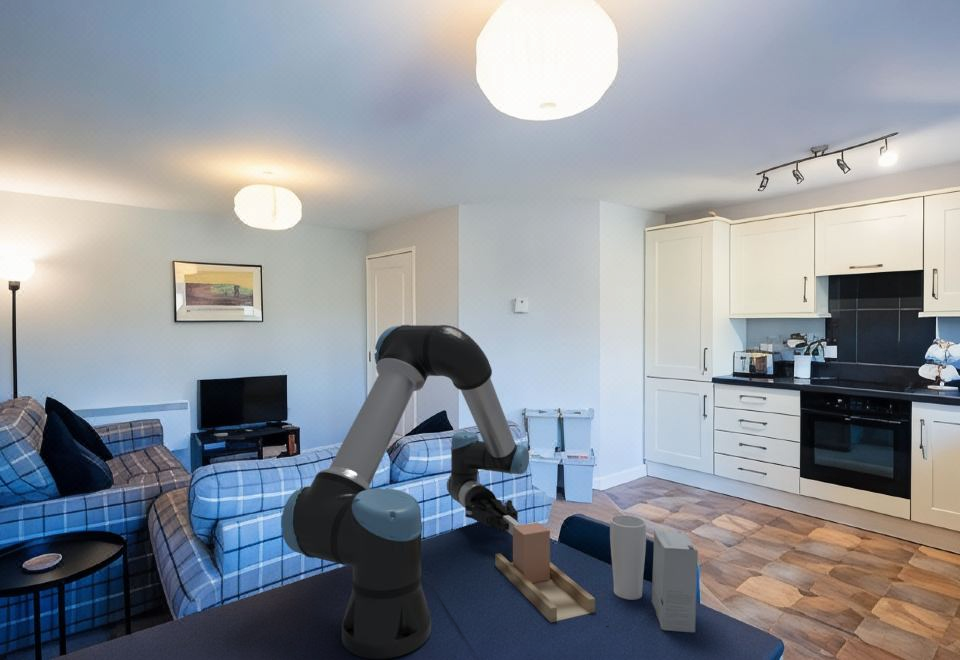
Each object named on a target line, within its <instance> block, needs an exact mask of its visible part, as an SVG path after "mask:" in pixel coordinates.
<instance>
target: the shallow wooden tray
mask: <svg viewBox="0 0 960 660" xmlns="http://www.w3.org/2000/svg"><path fill="white" fill-rule="evenodd" d="M494 557H495V558H494V559H495V567H496V568H497V569H498V570H499V571H500V572H501V573H502V574H503V575H504V577H506V578H507V579H508V580H509V582H511V583H512V584H513V586H515V588H517V590H518V591H519V592H521V593H522V594H523V596H524V597H525V598H526V599H528V601H529V602H530V603H531V604H532V605H534V607H535V608H536V609H537V610H538V611H539V612H540V613H541V614H542V615H543V616H544V617H545V618H546V619H547V620H548V621H549V622H550V623H555V622H560V621H563V620H568V619H571V618H572V619H573V618H576V617H579V616H580V617H581V616H585V615H588V614H593V613H595V612H596V598H595V597H594V596H593V595H592V594H591V593H589V592H588V591H587V590H585V589H584V588H583V587H582V586H581V585H579V584H578V583H576V582H575V581H574V580H573V579H571V578H570V577H569V576H568V575H567V574H566V573H564V572H563V570H561V569H559V568H558V567H557V566H556V565H555V564H553V563H552V562H551V561H550V580H545V581H540V582H535V583H531V582H530V581H529V580H528V579H527V578H526V577H525V576H524V575H523V574H521V573H520V572H519V571H518V570H517V569H516V568H515V567H514V566H513V561H512V562H510V560H508V559H507V558H506V557H505V556H504V555H502V553H495V556H494Z"/></svg>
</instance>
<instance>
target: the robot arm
mask: <svg viewBox="0 0 960 660" xmlns="http://www.w3.org/2000/svg"><path fill="white" fill-rule="evenodd" d="M375 351H376V352H375V353H374V360H375V364H376V366H375V367H376V372H377V374H378V376H377V378H376V379H375V382H374V383H373V385H372V386H371V388H370V391H369V393H368V394H367V397H366V398H365V400H364V402H363V404H362V405H361V407H360V409H359V411H358V413H357V415H356V417H355V419H354V421H353V423H352V425H351V426H350V428H349V430H348V432H347V433H346V436H345V438H344V439H343V441H342V443H341V445H340V447H339V449H338V451H337V452H336V455H335V456H334V459H332V460H333V461H332V462H331V464H330V465H329V468H325V469H323V470H320V471H318V472H317V474H316V475H315V477H314V478H313V481H312V482H311V484H310V486H309V485H306V486H303V487H300V488H299V489H296V490H295V491H294V492H293V493H292V494H291V495H290V496H289V497H288V499H287V501H286V503H285V505H284V507H283V510H282V514H281V525H280V526H281V529H282V533H281V534H282V538H283V540H284V543H285V544H286V545H287V547H288V548H289V549H290V550H291V551H293V552H295V553H297V554H301V555H303V556H305V557H307V558H311V559H319V560H323V561H328V562H331V563H336V564H339V565H343V566H347V567H351V568H352V589H351V594H350V598H349V601H348V603H347V606H346V610H345V613H344V616H343V619H342V623H341V642H342V645H343V647H344V648H345V649H346V650H347V651H349V653H351V654H353V655H355V656H357V657H359V658H365V659H371V660H386V659H394V658H397V657H402V656H404V655H407V654H410V653H412V652H414V651H416V650H417V649H419V648H421V647H422V646H423V645H424V644H425V643H426V642H427V641H428V639H429V637H430V635H431V632H432V617H431V615H432V614H431V611H430V609H429V608H430V607H429V605H428V601H427V599H426V596H425V593H424V589H423V586H422V531H423V521H422V513H421V511H422V510H421V506H420V504H419V502H418V500H417V499H416V498H415V497H414V496H412V495H411V494H410V493H407V492H404V491H402V490H398V489H394V488H388V487H387V488H380V487H375V488H371V487H370V485H371V483H372V481H373V479H374V477H375V475H376V474H377V470H378V468H379V466H380V464H381V462H382V459H383V457H384V456H385V453H386V451H387V449H388V447H389V446H390V445H389V444H390V442H391V440H392V438H393V436H394V434H395V432H396V429H397V428H398V425H399V423H400V421H401V419H402V417H403V415H404V413H405V410H406V408H407V406H408V404H409V401H410V400H411V397H412V395H413V393H414V392H417V391H420V390H421V389H423V388H424V385H425V384H426V381H427V379H428V377H431V376H432V377H445V378H449V380H451V382H452V383H453V386H454V387H455V388H456V389H457V390H460V391H461V394H462V396H463V398H464V400H465V402H466V404H467V407H468V410H469V412H470V415H471V416H472V419H473V421H474V422H475V426H476V427H477V430H478V432H479V434H480V436H481V438H482V441H480V438H479V434H478V433H477V432H472V431H458V432H455V433H454V434H453V435H452V436H451V446H450V447H451V448H450V451H451V452H450V454H451V456H450V457H451V460H450V462H451V463H450V465H451V468H450V469H451V470H450V471H451V472H450V475H449V476H448V479H447V481H446V490H447V492H448V494H449V495H450V496H451V499H452V500H454V501H456V502H457V503H459V505H461V506H462V507H463V508H465V509H464V511H465V518H469V519H472V520H474V521H476V522H477V523H480V524H482V525H485V526H486V527H488V528H494V526H496V530H497V531H503V530H504V531H506V532H507V533H508V534H510V536H512V537H513V526H517V525H522V524H521V522H519V520H518V519H519V517H518V514H519V512H518V511H517V510H516V508H515V507H514V505H513V500H511V499H508V500H507V501H504V502H503V501H502V500H501V499H498V498H497V497H496V495H495V494H494V492H493V491H492V490H490V489H489V488H487V487H486V486H485V485H483V484H482V483H480V482H479V480H478V479H479V477H478V476H479V470H482V471H489V472H490V471H491V472H496V473H497V472H498V473H504V474H509V475H512V474H513V475H523V474H525V473H526V471H527V470H528V467H529V463H530V453H529V452H530V451H529V449H528V448H527V447H526V446H524V445H521V444H516V441H515V440H514V436H513V434H512V431H511V429H510V426H509V424H508V420H507V418H506V416H505V412H504V411H503V407H502V404H501V403H500V400H499V399H500V398H499V397H498V395H497V391H496V390H495V387H494V384H493V381H492V379H491V378H492V374H493V371H492V370H493V369H492V366H491V364H490V362H489V358H488V357H487V355H486V353H485V352H484V350H482V348H481V347H480V345H479V344H478V343H477V342H476V341H475V340H474V339H473V338H472V337H471V336H470V335H469V334H467V333H466V332H464V331H463V330H461V329H459V328H458V327H455V326H453V325H448V324H439V325H428V324H427V325H425V324H424V325H420V324H419V325H416V324H415V325H414V324H413V325H411V324H401V325H394V326H391V327H389V328H387V329H385V330H384V331H383V332H382V333H381V335H380V336H379V338H378V339H377V342H376V343H375Z"/></svg>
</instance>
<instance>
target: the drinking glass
mask: <svg viewBox="0 0 960 660" xmlns="http://www.w3.org/2000/svg"><path fill="white" fill-rule="evenodd" d="M646 528H647V526H646V521H645V520H644V519H642V518H640V517H638V516H634V515H629V514H628V515H627V514H626V515H625V514H620V515H619V514H618V515H614V516H612V517H610V523H609V540H610V541H609V542H610V556H611V565H612V576H613V577H612V578H613V579H612V581H613V593H614V594H615V595H616V597H619V598H621V599H625V600H638V599H641V598H642V596H643V584H644V581H643V580H644V571H645V560H646V559H645V558H646V547H647V529H646Z"/></svg>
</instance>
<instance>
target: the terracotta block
mask: <svg viewBox="0 0 960 660" xmlns="http://www.w3.org/2000/svg"><path fill="white" fill-rule="evenodd" d="M512 562H513V566H514V567H515V568H516V569H517V570H518V571H519V572H520V573H521V574H523V575H524V576H525V577H526V578H527V579H528V580H529V581H530V582H531V583H535V582H540V581H545V580H550V562H551V530H550V529H549V528H547V527H545V526H544V525H542V523H540V522H539V521H537V522H531V523H525V524H521V525H517V526H513V536H512Z"/></svg>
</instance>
